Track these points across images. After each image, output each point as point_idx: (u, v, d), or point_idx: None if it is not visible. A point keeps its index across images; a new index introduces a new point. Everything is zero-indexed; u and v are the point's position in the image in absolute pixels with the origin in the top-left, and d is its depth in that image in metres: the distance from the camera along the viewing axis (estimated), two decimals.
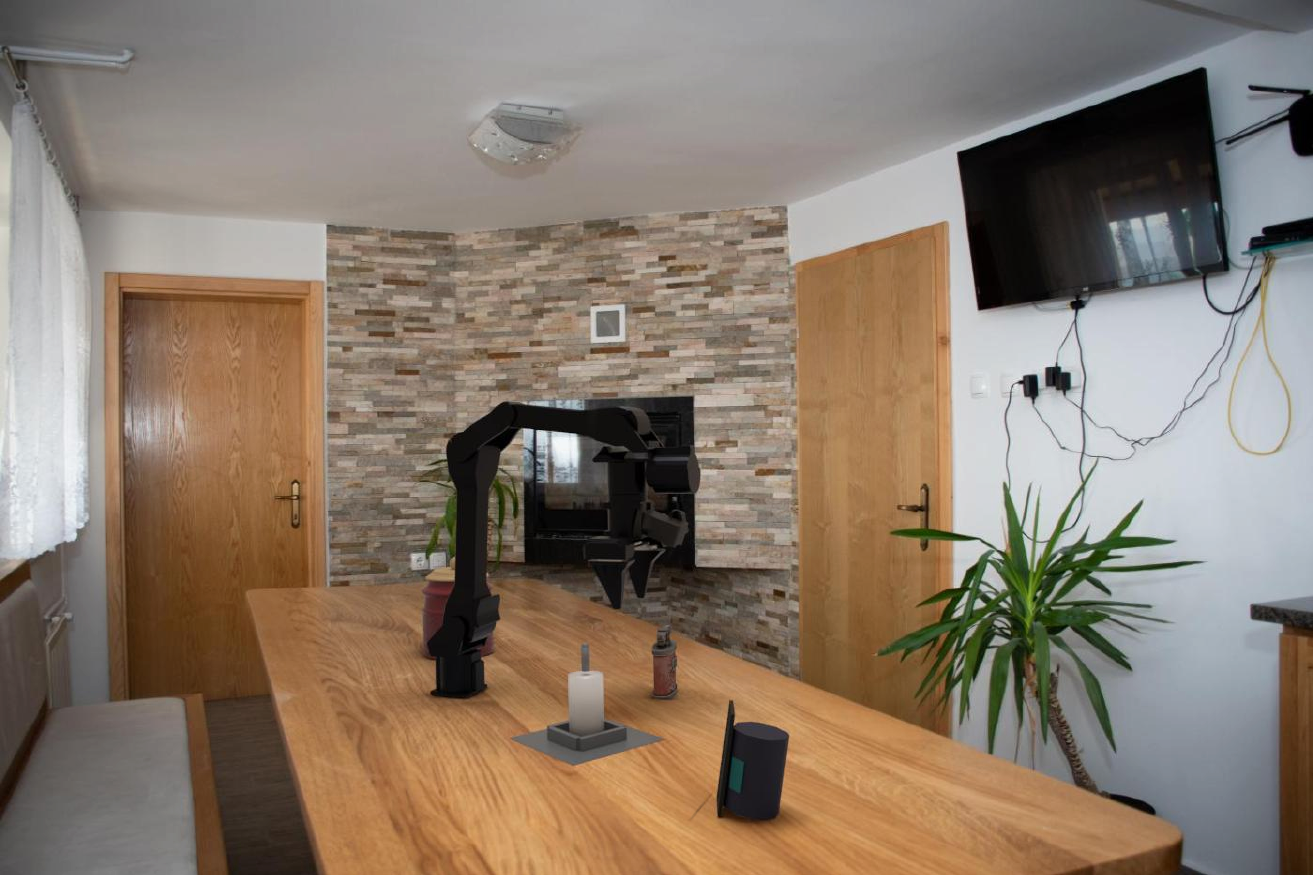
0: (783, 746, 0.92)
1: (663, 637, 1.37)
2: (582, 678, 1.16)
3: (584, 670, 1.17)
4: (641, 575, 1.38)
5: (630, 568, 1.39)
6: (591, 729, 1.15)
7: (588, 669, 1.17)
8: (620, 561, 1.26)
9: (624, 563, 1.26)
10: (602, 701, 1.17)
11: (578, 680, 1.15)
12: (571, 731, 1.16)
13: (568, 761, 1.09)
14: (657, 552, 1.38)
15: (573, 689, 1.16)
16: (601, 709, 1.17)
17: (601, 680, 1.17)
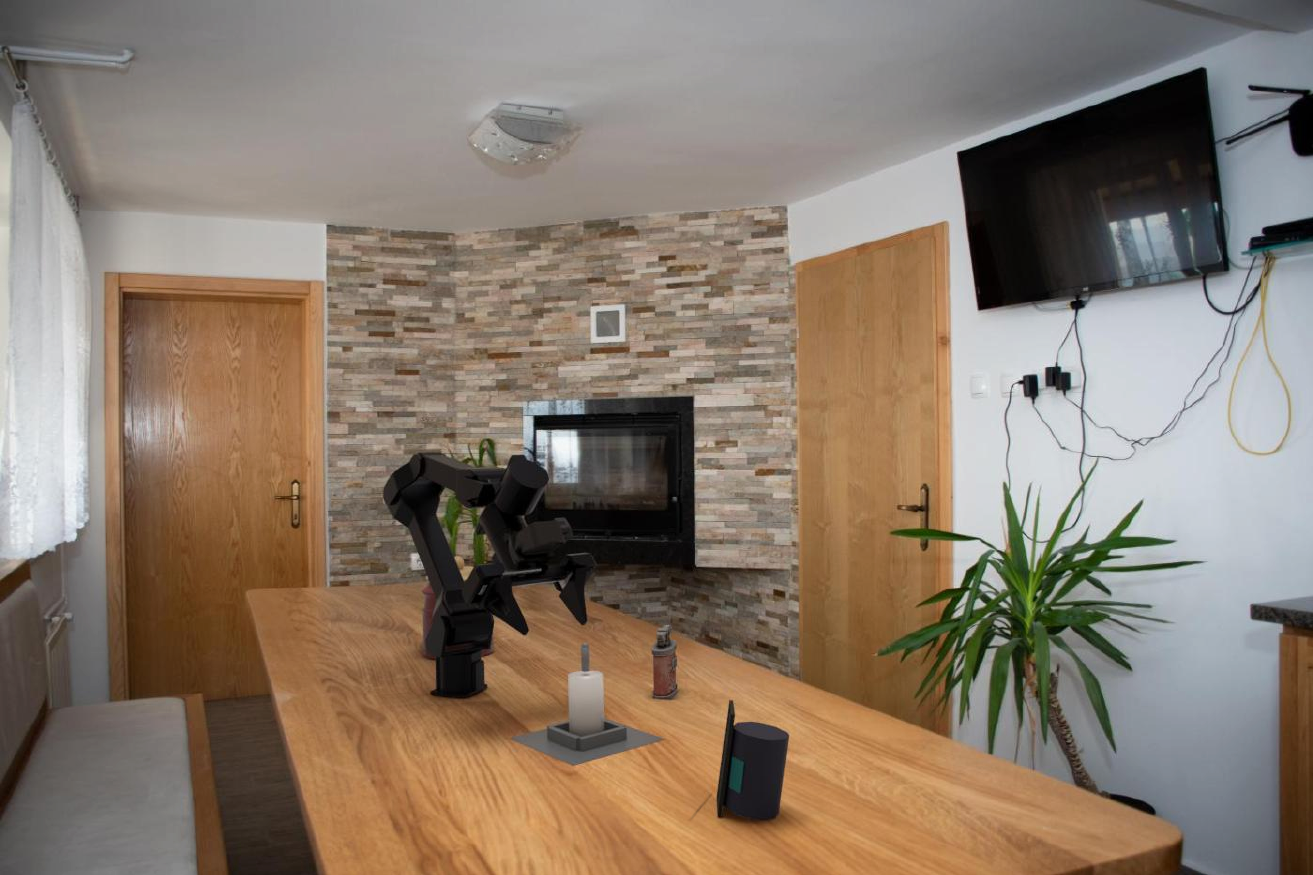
0: (783, 746, 0.92)
1: (663, 637, 1.37)
2: (582, 678, 1.16)
3: (584, 670, 1.17)
4: (575, 603, 1.27)
5: (567, 605, 1.29)
6: (591, 729, 1.15)
7: (588, 669, 1.17)
8: (489, 583, 1.20)
9: (491, 582, 1.20)
10: (602, 701, 1.17)
11: (578, 680, 1.15)
12: (571, 731, 1.16)
13: (568, 761, 1.09)
14: (574, 572, 1.28)
15: (573, 689, 1.16)
16: (601, 709, 1.17)
17: (601, 680, 1.17)
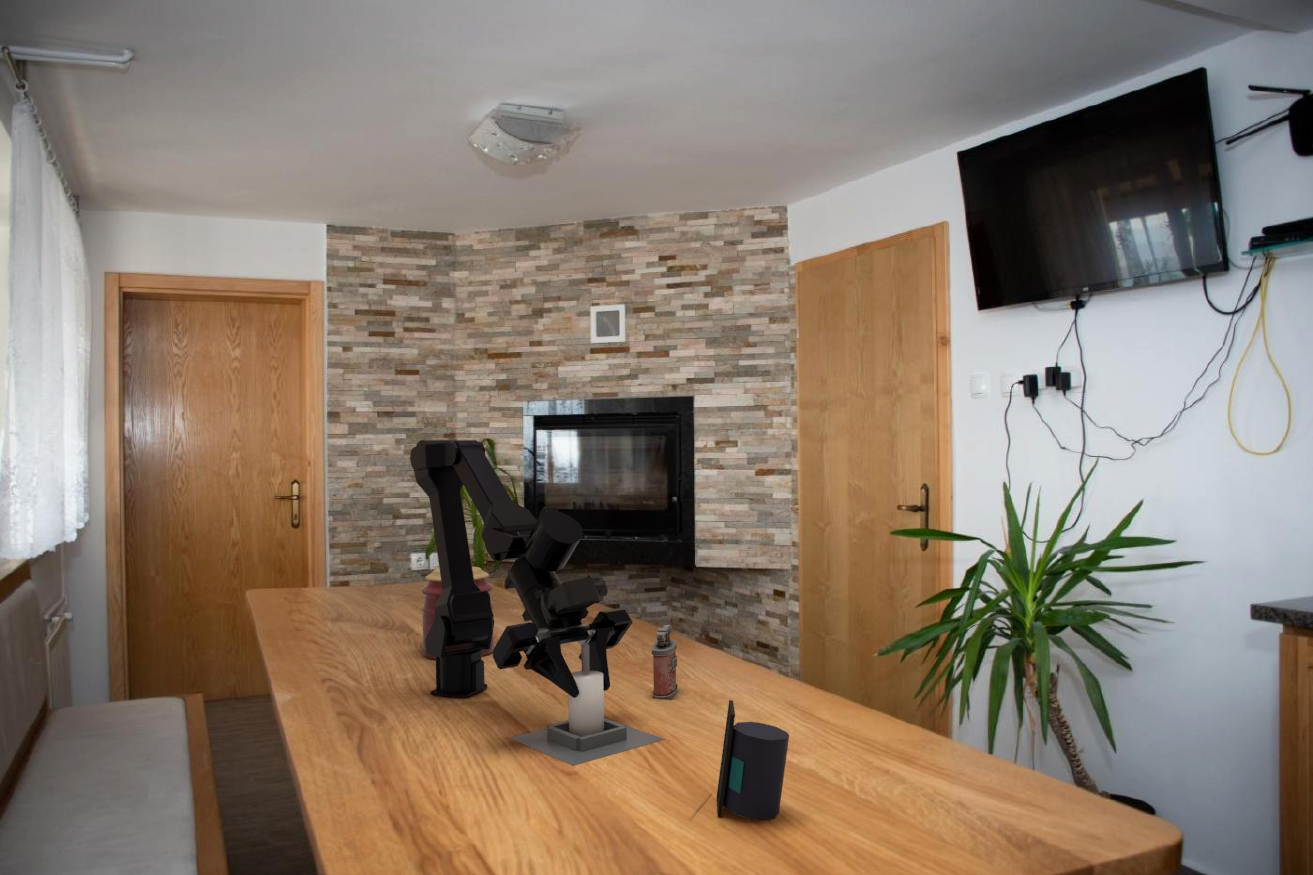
0: (783, 746, 0.92)
1: (663, 637, 1.37)
2: (582, 678, 1.16)
3: (584, 670, 1.17)
4: (596, 666, 1.20)
5: None
6: (591, 729, 1.15)
7: (588, 669, 1.17)
8: (537, 643, 1.16)
9: (540, 642, 1.15)
10: (602, 701, 1.17)
11: (578, 680, 1.15)
12: (571, 731, 1.16)
13: (568, 761, 1.09)
14: (596, 632, 1.21)
15: None
16: (601, 709, 1.17)
17: (601, 680, 1.17)
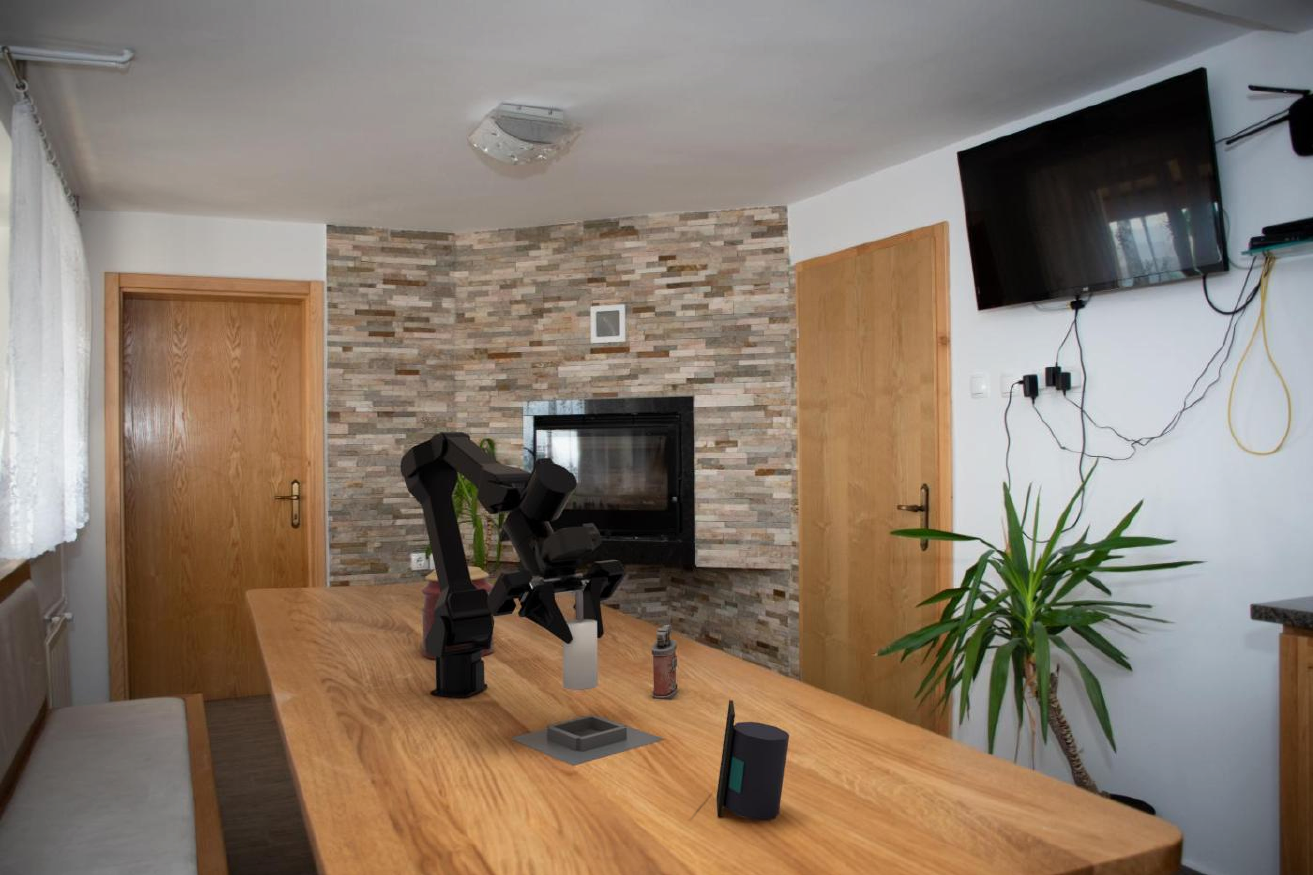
0: (783, 746, 0.92)
1: (663, 637, 1.37)
2: (576, 625, 1.17)
3: (578, 617, 1.18)
4: (590, 614, 1.21)
5: None
6: (585, 675, 1.16)
7: (582, 616, 1.18)
8: (531, 590, 1.17)
9: (534, 589, 1.16)
10: (596, 648, 1.18)
11: (572, 627, 1.16)
12: (565, 677, 1.17)
13: (568, 761, 1.09)
14: (590, 581, 1.22)
15: None
16: (595, 656, 1.18)
17: (595, 627, 1.18)
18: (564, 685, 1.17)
